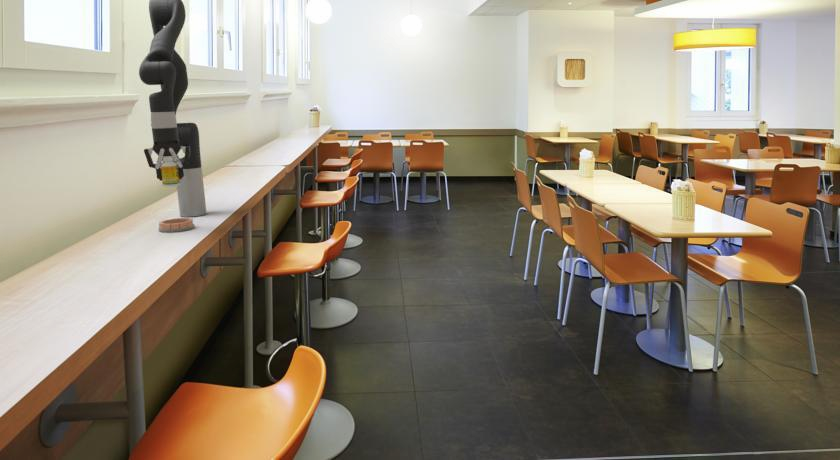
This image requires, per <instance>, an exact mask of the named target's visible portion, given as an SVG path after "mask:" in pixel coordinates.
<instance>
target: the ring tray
mask: <svg viewBox="0 0 840 460" xmlns="http://www.w3.org/2000/svg"><path fill="white" fill-rule="evenodd" d="M193 220H194V219H193V218H191V217H179V218H170V219H165V220H161V221H159V222H158V232H160V233H166V234H167V233H168V234H169V233H179V232H185V231H191V230H193V229H195V223H194V222H193Z"/></svg>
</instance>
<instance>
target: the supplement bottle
mask: <svg viewBox="0 0 840 460" xmlns="http://www.w3.org/2000/svg"><path fill="white" fill-rule="evenodd" d="M160 169H161V175H162V181H161V183H162V186H163V187H165V188H166V187H169V188H171V187H177V186H178V185H180V179H179V171H178V164H177V163H176V162H175V160H174V158H173V156H164V157H162V162H161V164H160Z"/></svg>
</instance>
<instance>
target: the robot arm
mask: <svg viewBox="0 0 840 460" xmlns="http://www.w3.org/2000/svg"><path fill="white" fill-rule="evenodd" d="M185 7H186V6H185V5H184V2H183V1H182V0H149V1H148V13H149V19H150V23H151V29H152V33H153V38H152V40H151V43H150V47H149V51H148V53H147V55H146V56H145V57H144V59H143V60H142V62H141V63H140V66H139V69H138V76H139V79H140V80H141V82H142V83H143V84H144V85H148V86H160V90H161V91H157V92H156V91H155V92H152V93H151V94H149V97H148V101H149V102H148V103H149V110H150V127H151V132H152V140H153V145H152V147H149V148H145V149H144V150H143V153H144V156H145V158H146V161H147V165H148V167H149V168H153V169H155V173H156V179H157V180H159V181H161V182H162V175H161V167H160V164H161V163H163V161H162V157H164V156H173V158H174V161H175V162H176V163H177V164H178V171H179V179H180V185H178V186H176V190H177V192H176V193H177V200H178V208H179V209H178V211H179V216H180V217H182V218H191V217H198V216H204V215H206V214H207V206H206V197H205V195H206V194H205V187H204V179H203V178H204V177H203V168H202V159H201V149H200V147H201V145H200V132H199V127H198V125H197V124H196V123H195V122H177V117H176V116H177V111H178V108H179V105H180V104H181V101H182V100H183V98H184V96H185V94H186V92H187V90H188V87H189V77H188V71H187V70H188V69H187V65H186V63H185V61H184V59H183V58H182V57H181V56H180V54H179V53H178V52H177V51H176V49H175V48H176V47H175V46H176V43H177V42H178V38H179V36H180V34H181V31H182V29H183V28H184V24H185V21H186V17H187V16H186V8H185ZM180 151H182V153H183V154H184V156H183V157H179V152H180ZM153 152H154V153H155V154H156V155H157V159H156V163H154V161H153V158H152V155H153Z"/></svg>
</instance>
